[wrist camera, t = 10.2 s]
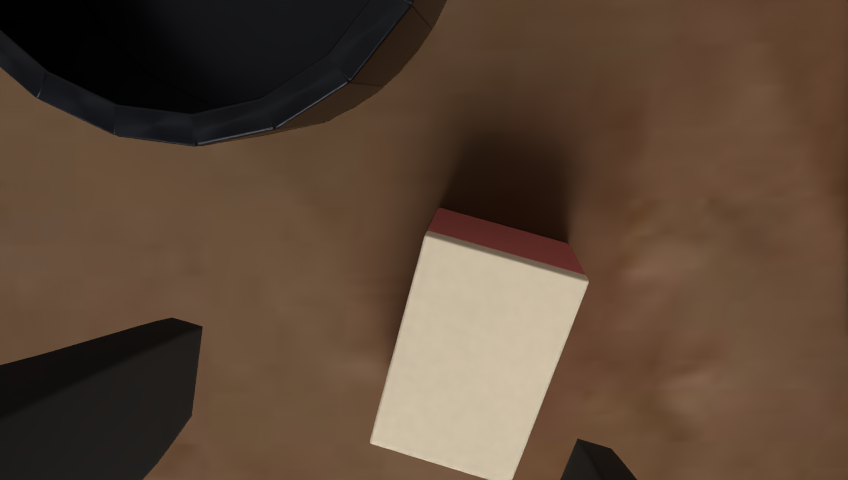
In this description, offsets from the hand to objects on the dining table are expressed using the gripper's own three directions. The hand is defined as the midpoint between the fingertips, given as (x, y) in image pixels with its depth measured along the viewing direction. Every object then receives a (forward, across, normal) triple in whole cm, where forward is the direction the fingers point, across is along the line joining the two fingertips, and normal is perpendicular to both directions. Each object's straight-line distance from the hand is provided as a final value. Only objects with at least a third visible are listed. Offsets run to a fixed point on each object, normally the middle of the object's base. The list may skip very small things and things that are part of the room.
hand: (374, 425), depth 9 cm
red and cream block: (+8, -2, +1) cm, 9 cm away
